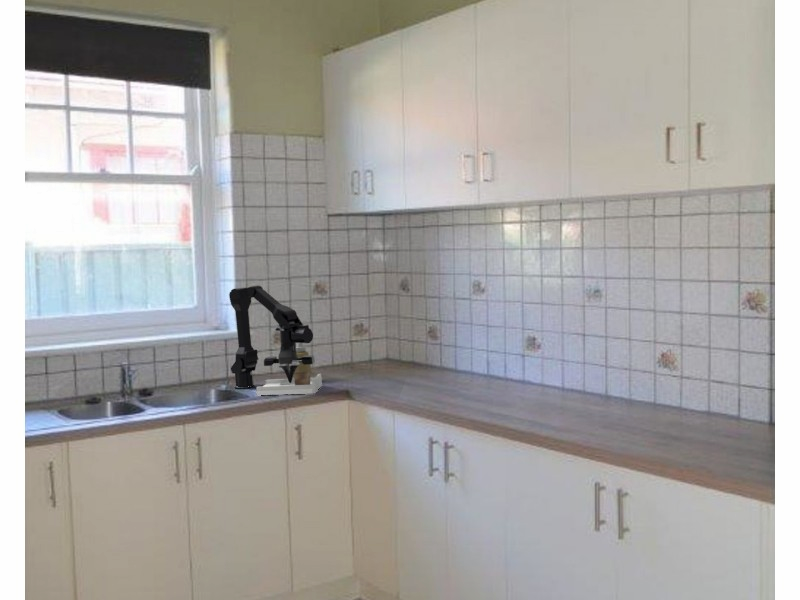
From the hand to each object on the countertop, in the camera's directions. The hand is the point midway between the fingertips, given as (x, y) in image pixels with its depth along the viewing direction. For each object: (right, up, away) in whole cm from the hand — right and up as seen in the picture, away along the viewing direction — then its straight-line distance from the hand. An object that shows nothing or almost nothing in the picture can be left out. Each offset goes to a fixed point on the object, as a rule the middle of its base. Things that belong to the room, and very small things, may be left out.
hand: (290, 382), depth 332 cm
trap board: (0, -3, 0) cm, 3 cm away
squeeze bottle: (+2, -2, +20) cm, 20 cm away
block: (+5, -1, 0) cm, 5 cm away
